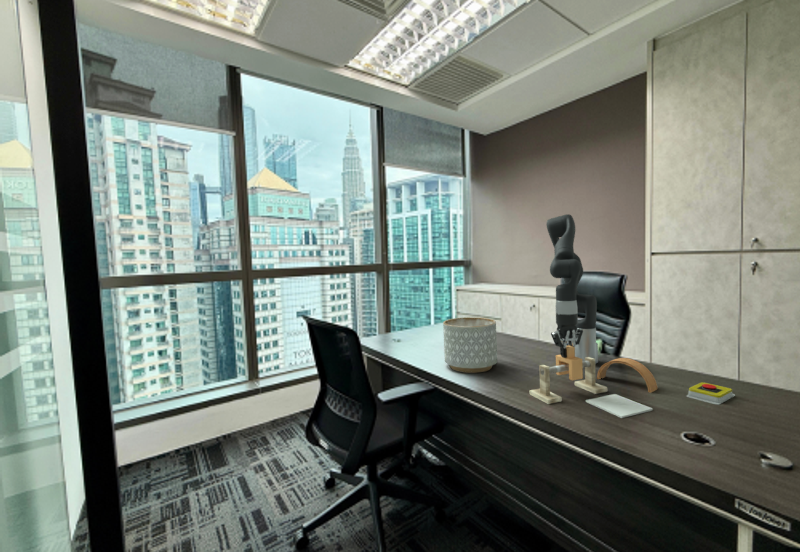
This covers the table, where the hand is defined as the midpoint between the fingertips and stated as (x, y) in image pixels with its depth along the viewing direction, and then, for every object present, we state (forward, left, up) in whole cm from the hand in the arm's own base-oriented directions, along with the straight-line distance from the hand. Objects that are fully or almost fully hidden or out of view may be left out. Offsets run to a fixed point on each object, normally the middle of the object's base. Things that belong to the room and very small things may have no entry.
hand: (567, 356), depth 134 cm
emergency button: (-42, +23, -15) cm, 50 cm away
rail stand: (0, 0, -14) cm, 14 cm away
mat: (-6, +16, -14) cm, 22 cm away
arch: (-27, +2, -15) cm, 31 cm away
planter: (+16, -46, -14) cm, 51 cm away
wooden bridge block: (0, 0, -8) cm, 8 cm away
